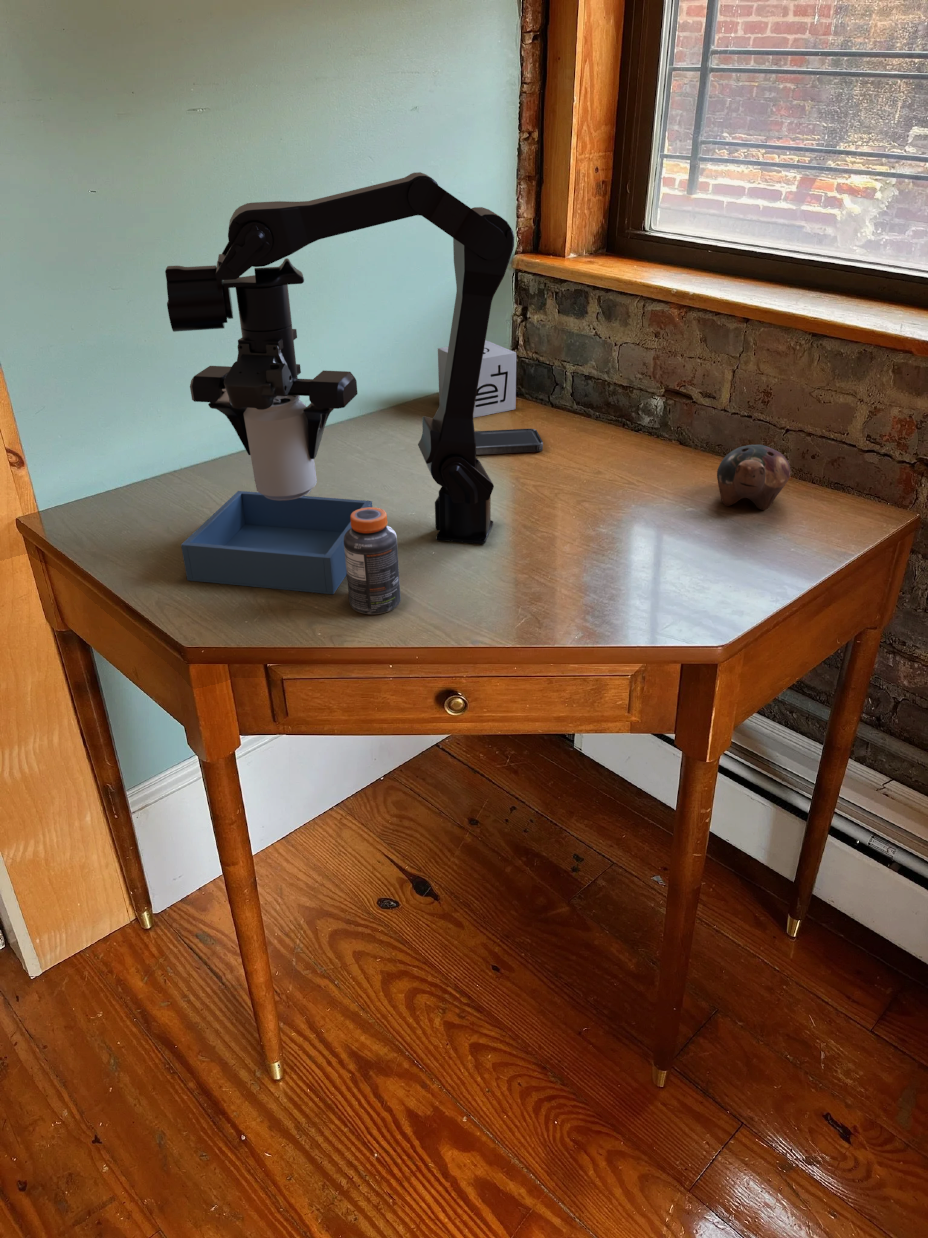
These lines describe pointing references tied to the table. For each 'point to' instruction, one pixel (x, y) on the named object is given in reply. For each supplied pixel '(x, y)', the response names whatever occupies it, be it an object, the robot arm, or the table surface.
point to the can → (280, 449)
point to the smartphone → (508, 441)
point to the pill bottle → (372, 562)
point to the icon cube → (490, 379)
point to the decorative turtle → (752, 475)
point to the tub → (273, 543)
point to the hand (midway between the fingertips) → (282, 455)
